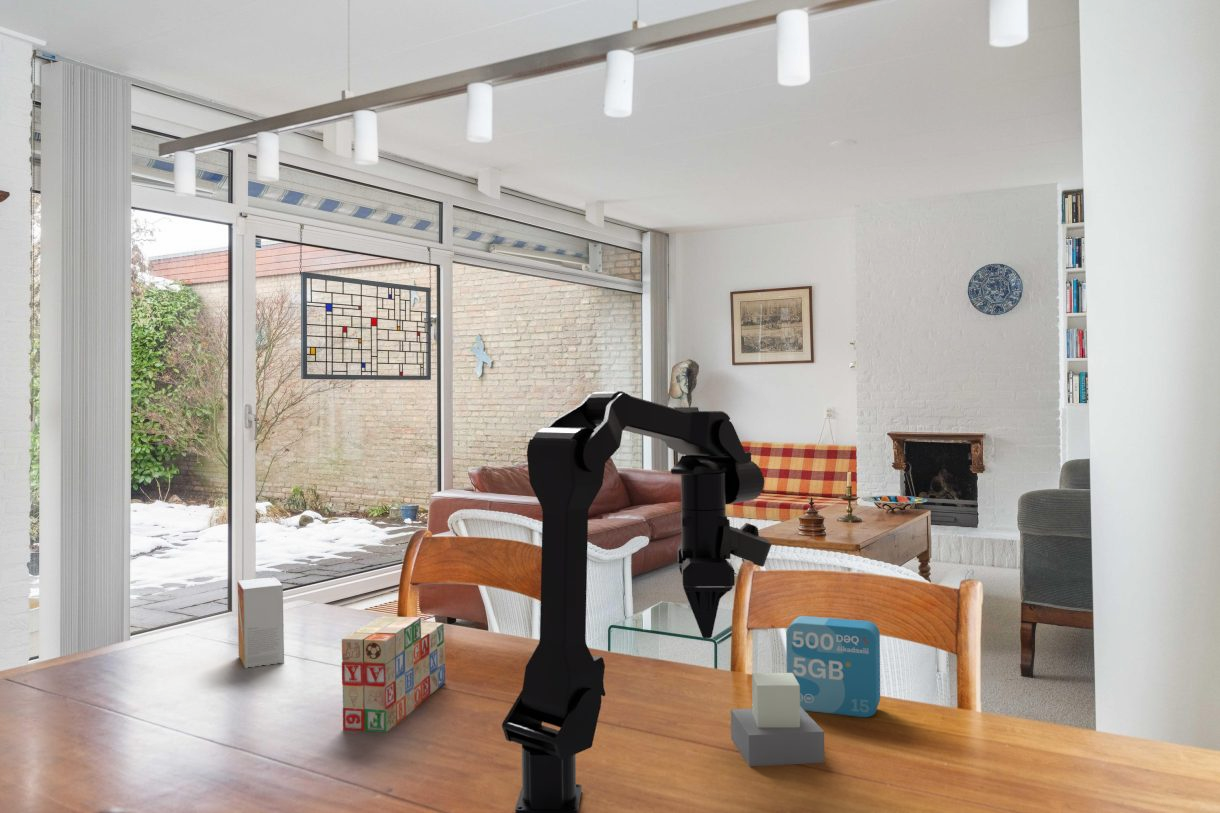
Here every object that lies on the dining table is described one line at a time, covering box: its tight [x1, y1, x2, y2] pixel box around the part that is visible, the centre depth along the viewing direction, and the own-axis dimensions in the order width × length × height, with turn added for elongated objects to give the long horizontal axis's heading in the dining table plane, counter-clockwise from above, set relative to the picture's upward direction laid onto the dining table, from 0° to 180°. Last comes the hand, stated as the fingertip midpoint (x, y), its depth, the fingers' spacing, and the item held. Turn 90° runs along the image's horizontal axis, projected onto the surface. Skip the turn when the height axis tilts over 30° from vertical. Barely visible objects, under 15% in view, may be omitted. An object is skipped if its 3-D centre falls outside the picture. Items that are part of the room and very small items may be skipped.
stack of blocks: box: [341, 615, 446, 733], centre depth 131 cm, size 21×6×12 cm, turn 169°
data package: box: [785, 615, 881, 718], centre depth 127 cm, size 12×4×12 cm, turn 68°
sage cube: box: [751, 672, 800, 727], centre depth 112 cm, size 5×5×5 cm
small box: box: [237, 577, 285, 669], centre depth 154 cm, size 8×6×13 cm
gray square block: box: [730, 706, 825, 768], centre depth 112 cm, size 9×9×4 cm
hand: (704, 628), depth 119 cm, fingers open, 9 cm apart
